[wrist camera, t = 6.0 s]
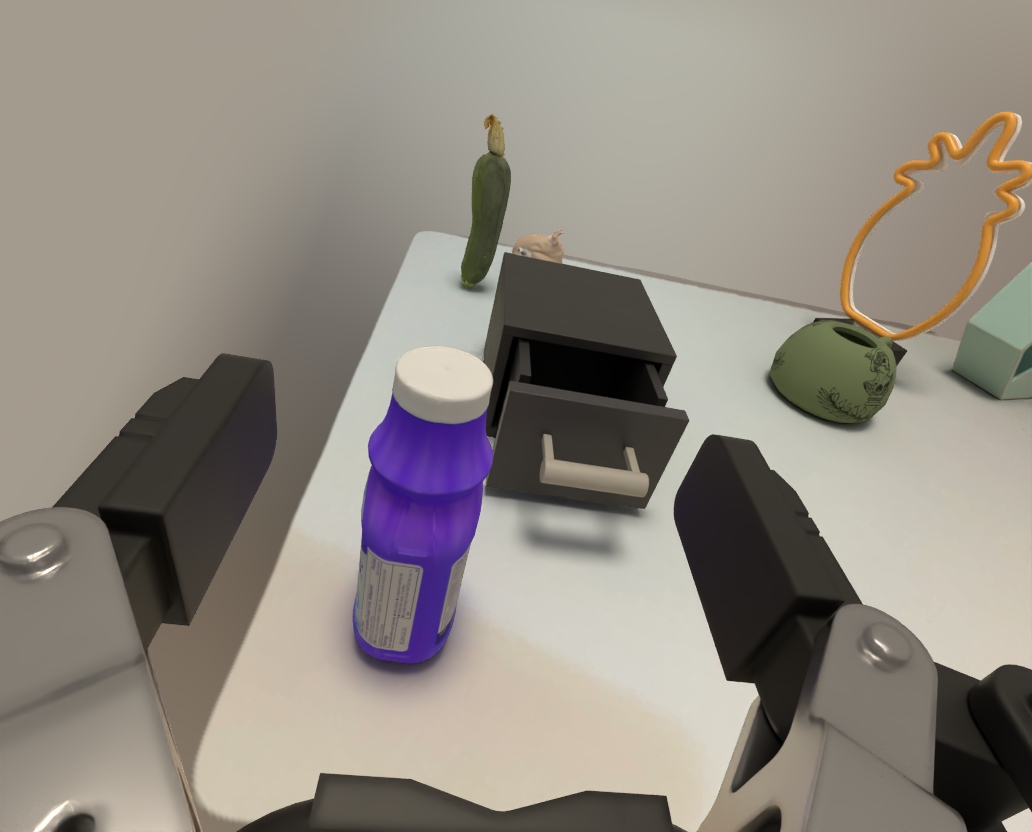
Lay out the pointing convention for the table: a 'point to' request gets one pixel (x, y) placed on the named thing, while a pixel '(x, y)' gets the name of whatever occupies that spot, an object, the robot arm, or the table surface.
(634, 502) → the drawer
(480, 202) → the vegetable
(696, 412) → the table surface
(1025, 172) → the lamp
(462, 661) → the table surface
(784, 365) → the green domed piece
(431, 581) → the bottle
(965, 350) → the green magazine holder
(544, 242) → the round shiba plush toy
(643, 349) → the cabinet
